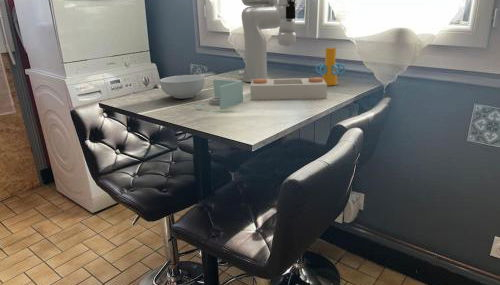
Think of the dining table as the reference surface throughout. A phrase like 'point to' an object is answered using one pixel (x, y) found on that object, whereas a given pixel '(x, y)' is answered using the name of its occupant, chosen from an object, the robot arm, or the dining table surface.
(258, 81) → the chicken egg
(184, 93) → the cereal bowl
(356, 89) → the dining table surface
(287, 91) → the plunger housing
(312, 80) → the brown egg
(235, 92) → the right angle wall
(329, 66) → the orange post blue wheels
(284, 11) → the gray metal bottle
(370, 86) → the dining table surface
